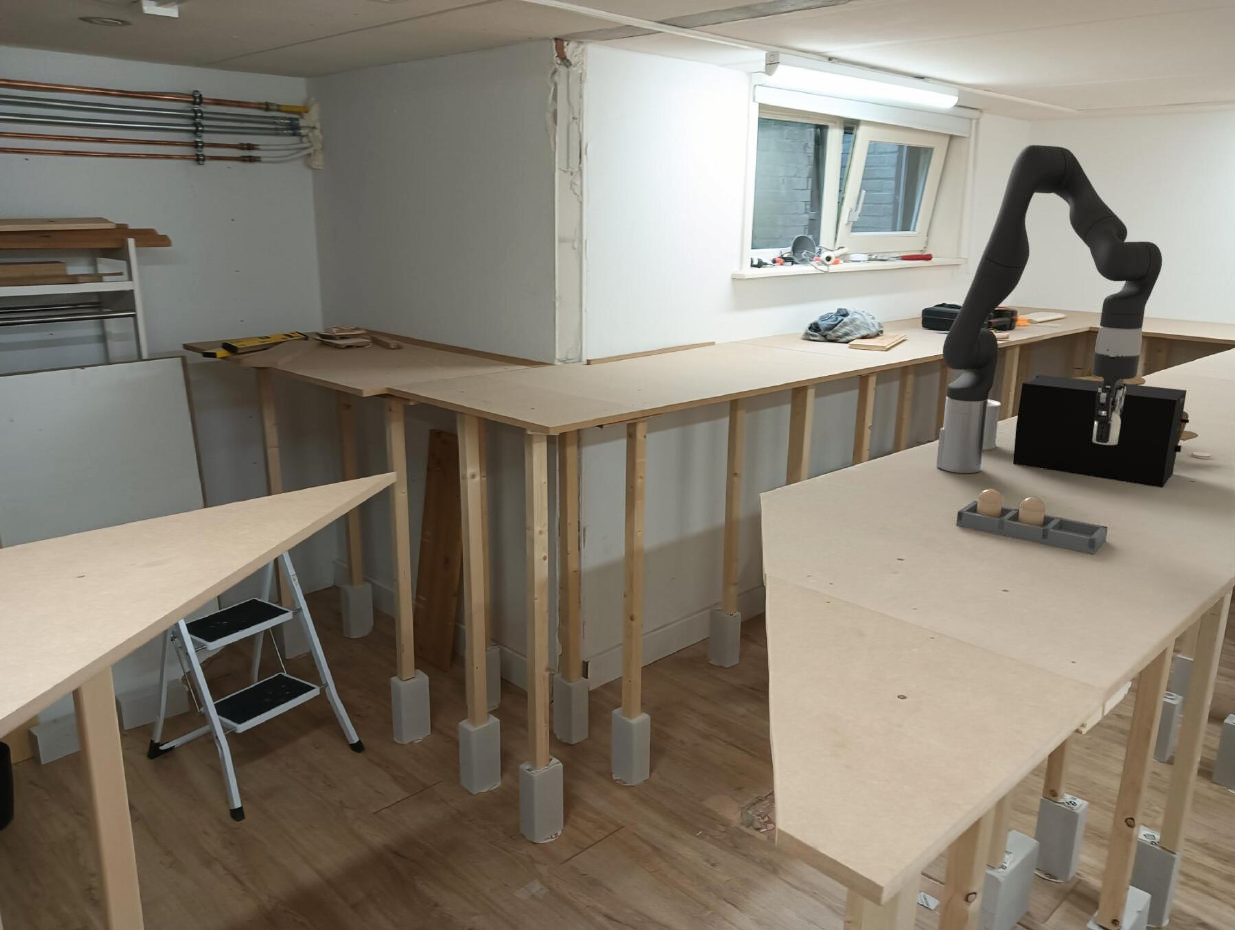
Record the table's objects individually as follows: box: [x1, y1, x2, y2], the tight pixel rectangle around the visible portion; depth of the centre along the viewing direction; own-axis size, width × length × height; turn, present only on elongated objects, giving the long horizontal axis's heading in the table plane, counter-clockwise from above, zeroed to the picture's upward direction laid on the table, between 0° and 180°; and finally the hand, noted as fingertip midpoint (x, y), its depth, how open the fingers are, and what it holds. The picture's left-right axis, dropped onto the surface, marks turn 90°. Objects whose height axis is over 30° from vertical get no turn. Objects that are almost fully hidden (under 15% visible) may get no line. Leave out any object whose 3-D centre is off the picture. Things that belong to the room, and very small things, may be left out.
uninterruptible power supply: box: [1012, 374, 1190, 489], centre depth 222 cm, size 16×34×20 cm, turn 52°
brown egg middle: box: [1018, 496, 1046, 527], centre depth 181 cm, size 4×4×6 cm
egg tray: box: [956, 500, 1109, 555], centre depth 181 cm, size 25×9×3 cm, turn 50°
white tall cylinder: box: [983, 399, 1002, 451], centre depth 244 cm, size 10×9×20 cm
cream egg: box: [1092, 411, 1121, 445], centre depth 180 cm, size 4×4×6 cm
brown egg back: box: [977, 488, 1003, 518], centre depth 186 cm, size 4×4×6 cm
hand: (1105, 439), depth 181 cm, fingers closed on cream egg, 4 cm apart
